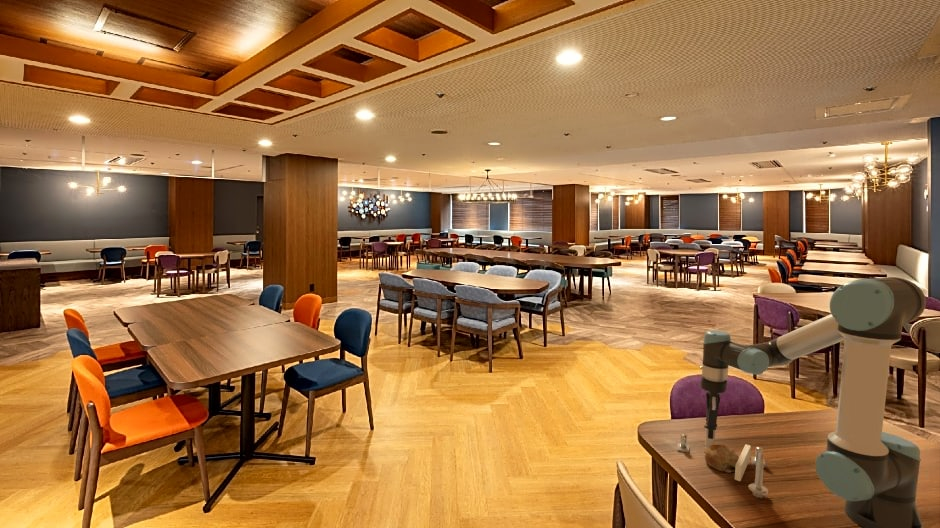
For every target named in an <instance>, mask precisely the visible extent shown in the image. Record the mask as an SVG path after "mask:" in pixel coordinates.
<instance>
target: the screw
mask: <svg viewBox="0 0 940 528" xmlns="http://www.w3.org/2000/svg"><path fill="white" fill-rule="evenodd" d="M763 454H764V453H763ZM763 454H762V453H761V452H758V459H757V462H756V463H757V464H756V465H755V467H756V468H755V475H754V476H755V478H754V482H753V483H750V484H748V487H747V488H748V489H749V490H750V491H751V492H752V496H754V497H755V498H759V499H763V498H764V495H768V493H769V490H768V488H767V487H766V486H764V485H763V482H764V481H763V480H764V479H763V478H764V468H765V467H763V466H764V465H763V464H764V463H763V462H764V461H765V460H764V461H763V457H764V455H763Z"/></svg>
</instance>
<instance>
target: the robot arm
mask: <svg viewBox="0 0 940 528" xmlns="http://www.w3.org/2000/svg"><path fill="white" fill-rule="evenodd" d="M926 306H927V299H926V296H925V293H924V292H923V290H922V289H921V288H920V286H918V285H917V284H916V283H914V282H912V281H911V280H909V279H907V278H906V279H905V278H901V277H898V276H897V277H891V276H890V277H889V276H887V277H881V278H880V277H877V278H860V279H859V278H858V279H856V280H855V279H854V280H852V281H848V282H845V283H842V285H840V286H839V287H837V288H836V290H835V291H834V292H833V293H832V295H831V297H830V301H829V310H830V311H829V312H830V313H829V314H828V315H826V316H823V317H821V318H819V319H816V320H814V321H812V322H809V323H807V324H806V325H803V326H801V327H799V328H797V329H794V330H792V331H790V332H788V333H785V334H783V335H781V336H779V337H776V338H774V339H772V340H769V341H767V342H761V343H760V342H759V343H753V344H746V345H744V344H742V343H741V344H740V343H736V342H733V341H731V334H730V333H728V332H726V331H722V330H713V329H712V330H708V331H706V332H705V333H704V338H703V343H702V345H703V346H702V347H703V348H702V349H703V351H702V355H703V356H702V365H700V366H699V369H701V378H700V379H701V380H700V388H701V389H703V390H704V391H705V399H706V400H705V403H706V414H705V415H706V418H705V420H706V423H705V425H704V426H703V427H704V429H705V435H704V437H705V438H704V446H705V447H707V448H708V447H710V446H712V445H715V440H716V439H715V438H716V430H717V427H718V424H717V422H718V421H717V420H718V414H719V413H718V411H719V407H720V403H721V397H720V394H723V393H726V392H727V388H728V387H727V386H728V377H729V367H731V368H734V369H737V370H740V371H742V372H745V373H747V374H752V375H755V376H757V375H758V376H759V375H762V374H763V373H765V372H766V371H767V370H768V368H770V367H781V366H782V367H783V366H785V365H787V364H791V363H792V362H793V361H794V360H796V359H798V358H802V357H804V356H806V355H809V354H812V353H815V352H817V351H819V350H822V349H825V348H828V347H830V346H833V345H835V344H838V343H840V342H843V341H844V343H843V354H842V355H843V356H842V366H841V373H840V374H841V375H840V386H839V396H838V405H837V406H838V407H837V416H836V417H837V418H836V427H835V430H834V431H831V432H829V433H828V434H827V441H826V450H824V451H822V452H820V453H819V455H817V457H816V458H815V461H814V463H815V464H814V468H815V471H816V475H817V476H818V478H819V480H820V481H821V482H822V483H823V484H824V486H825V488H826V489H828V491H830V492H831V493H832V494H834V495H835V496H837V497H839V498H841V499H843V500H845V506H844V507H845V508H844V511H845V513H846V516H848V517H849V518H850V520H852V521H853V522H854V523H856V524H857V525H859V526H860V527H863V528H923V526H924V525H923V523H922V519H921V517H920V513H919V511H918V506H917V503H916V499H917V498H916V497H917V492H918V491H917V489H918V482H919V473H920V465H921V464H920V463H921V461H922V459H921V449H920V447H919V446H918V445H916V444H915V443H913V441H910V440H908V439H906V438H903V437H901V436H898V435H894V434H891V433H887V432H884V431H883V426H884V419H885V418H884V417H885V408H886V407H885V406H886V400H887V399H886V398H887V388H888V380H889V379H888V378H889V372H890V371H889V370H890V362H891V351H892V346H893V344H894V345H895V343H898V342H900V341H901V339H902V333H903V325H904V324H909V323H912V322H913V321H916V320H917V319H918V318H920V317H921V316H922V314H923V313H924V311H925V310H926Z"/></svg>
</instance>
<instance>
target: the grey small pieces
mask: <svg viewBox="0 0 940 528" xmlns="http://www.w3.org/2000/svg"><path fill="white" fill-rule="evenodd" d="M687 442H688V434H686V433H681V434H680V441H679V442H677V451H678V452H683V453H690V445H689V444H688V443H687ZM754 450H755V451H754V452H755V453H754V456H752V455H750V460H751V463H752V466H753V465H754V466H757V465H756V464H757V463H756V462H757V459H758V452H761V453H762V454H764V453H763V451H764V448H763V447H762V446H755V449H754ZM763 461H764V462H763V463H764V464H763V465H764V466H763V467H764V468H766V467H767V463H766V460H765V458H763Z"/></svg>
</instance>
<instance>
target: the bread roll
mask: <svg viewBox="0 0 940 528" xmlns="http://www.w3.org/2000/svg"><path fill="white" fill-rule="evenodd" d="M703 453H704V454H705V455H704V459H705V462H706V463H707V464H708V466H709V467H712V468H713V469H715V470H717V471H720V472H724V473H732V472H734V473H735V466H736V463H737V461H738V459H739V457H740V456H739V455H738V454H737V452H736V451H734V448H733V449H732V448H731V447H730V446H727V445H725V444H714V445H712V446H710V447H707V448H706V449H704V452H703Z"/></svg>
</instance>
